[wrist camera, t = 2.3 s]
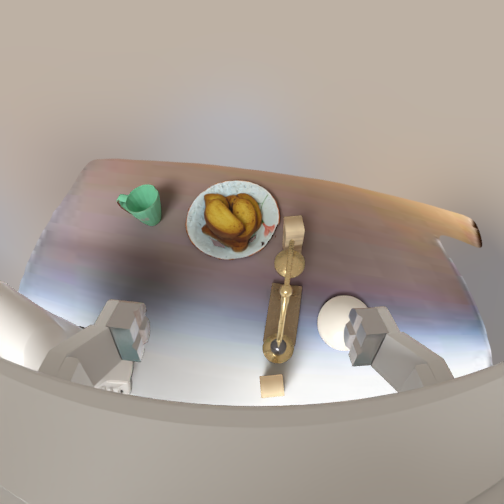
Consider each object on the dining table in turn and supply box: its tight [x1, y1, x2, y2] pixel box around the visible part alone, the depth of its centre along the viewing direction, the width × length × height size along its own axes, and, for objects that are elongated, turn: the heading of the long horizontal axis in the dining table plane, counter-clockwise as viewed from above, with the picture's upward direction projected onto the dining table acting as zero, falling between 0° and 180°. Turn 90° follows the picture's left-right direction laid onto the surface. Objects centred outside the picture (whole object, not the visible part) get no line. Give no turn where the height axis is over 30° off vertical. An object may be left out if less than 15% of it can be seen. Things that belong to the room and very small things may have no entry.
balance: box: [263, 239, 305, 363], centre depth 56 cm, size 24×7×19 cm, turn 170°
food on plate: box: [186, 180, 280, 260], centre depth 75 cm, size 25×25×7 cm
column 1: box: [260, 374, 284, 398], centre depth 51 cm, size 4×4×12 cm
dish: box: [317, 296, 367, 351], centre depth 61 cm, size 13×13×2 cm
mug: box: [117, 185, 161, 226], centre depth 76 cm, size 15×10×10 cm
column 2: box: [283, 215, 305, 254], centre depth 67 cm, size 4×4×12 cm
